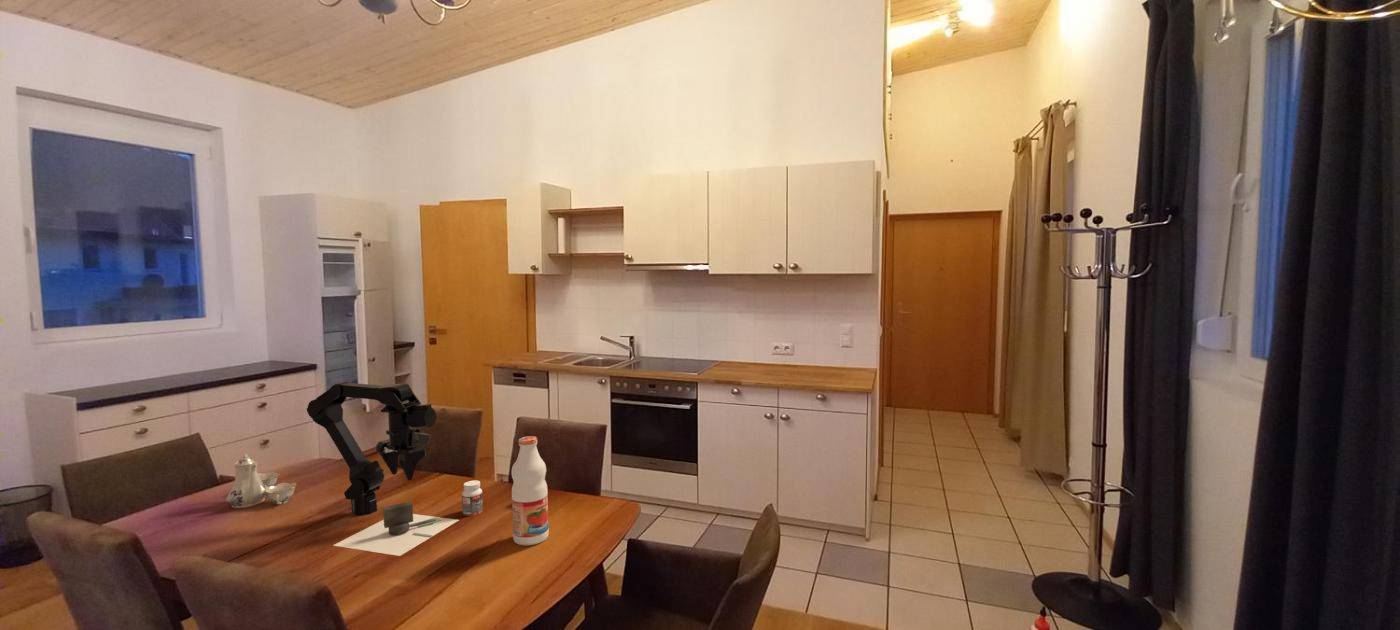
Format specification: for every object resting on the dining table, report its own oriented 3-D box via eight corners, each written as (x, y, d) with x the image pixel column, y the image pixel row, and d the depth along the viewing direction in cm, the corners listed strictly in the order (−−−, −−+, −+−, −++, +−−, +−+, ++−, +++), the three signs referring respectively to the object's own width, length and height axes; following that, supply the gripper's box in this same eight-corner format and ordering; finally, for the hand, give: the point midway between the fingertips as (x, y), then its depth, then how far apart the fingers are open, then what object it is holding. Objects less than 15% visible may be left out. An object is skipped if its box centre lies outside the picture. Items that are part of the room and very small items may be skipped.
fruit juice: (526, 528, 160) (523, 432, 158) (555, 533, 157) (552, 435, 155) (505, 543, 151) (502, 441, 149) (536, 548, 148) (532, 444, 146)
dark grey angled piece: (385, 537, 153) (384, 512, 152) (383, 531, 157) (382, 506, 156) (437, 525, 160) (436, 500, 160) (434, 519, 164) (433, 495, 164)
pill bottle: (475, 519, 167) (474, 487, 166) (458, 518, 168) (457, 485, 167) (486, 511, 172) (485, 480, 172) (470, 510, 173) (469, 479, 173)
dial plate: (333, 549, 149) (332, 544, 149) (398, 515, 170) (398, 511, 170) (400, 559, 143) (399, 555, 143) (459, 523, 164) (459, 519, 164)
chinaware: (306, 505, 183) (309, 454, 183) (244, 519, 169) (247, 463, 169) (270, 489, 198) (273, 441, 199) (210, 500, 184) (213, 449, 185)
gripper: (442, 425, 169) (444, 475, 170) (411, 416, 180) (413, 464, 181) (404, 433, 160) (407, 486, 161) (374, 424, 171) (376, 474, 172)
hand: (402, 477), depth 169 cm, fingers open, 9 cm apart
